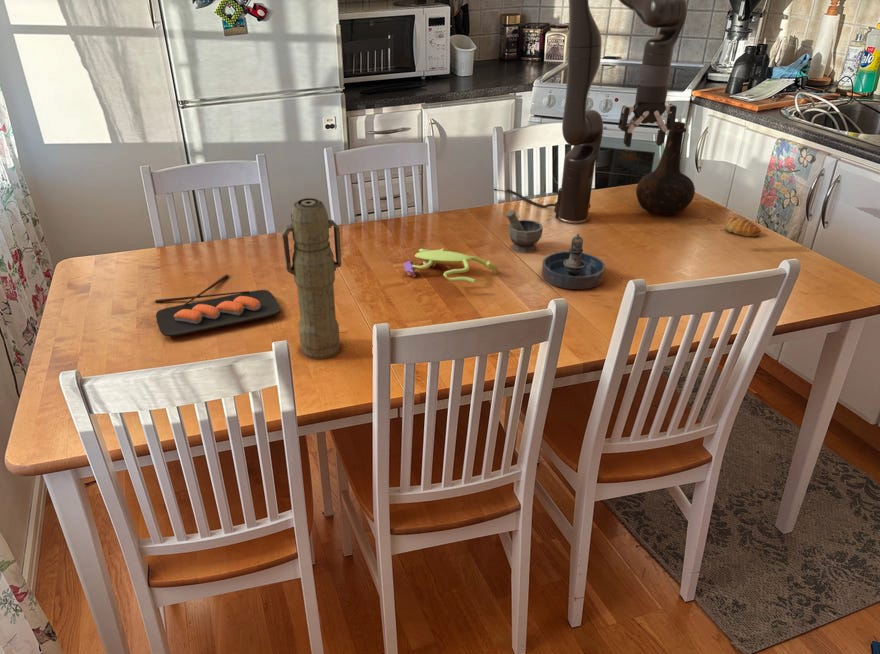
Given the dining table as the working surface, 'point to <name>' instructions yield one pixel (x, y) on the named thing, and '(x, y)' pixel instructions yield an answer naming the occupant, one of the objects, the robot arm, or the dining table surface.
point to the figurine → (445, 258)
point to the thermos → (314, 276)
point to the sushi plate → (215, 311)
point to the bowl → (590, 278)
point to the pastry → (742, 227)
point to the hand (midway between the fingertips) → (643, 145)
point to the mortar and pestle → (523, 232)
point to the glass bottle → (667, 180)
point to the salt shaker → (575, 258)
